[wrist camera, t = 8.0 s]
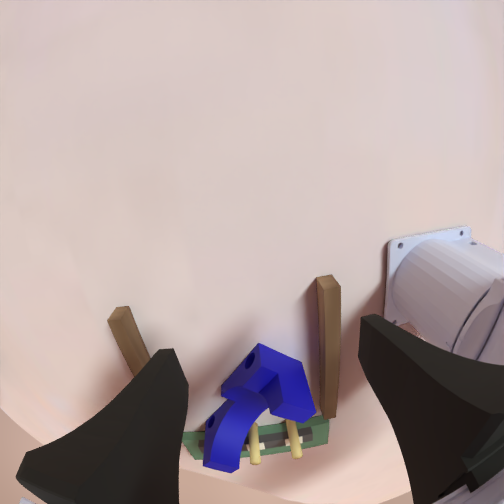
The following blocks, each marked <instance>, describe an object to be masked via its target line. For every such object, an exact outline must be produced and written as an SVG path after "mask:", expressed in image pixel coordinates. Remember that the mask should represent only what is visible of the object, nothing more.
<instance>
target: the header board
mask: <svg viewBox="0 0 504 504" xmlns="http://www.w3.org/2000/svg"><path fill="white" fill-rule="evenodd" d="M328 433H329V420H328V419H327V420H324V418H323V415H321V416H317V417H312V418H309V419H308V420H307V421H306V422H304V423H300V422H296V421H292V420H289V419H286V423H281V424H275V425H268V426H261V427H258V425H257V423H253V425H252V426H251V428H250V430H249V431H248V433H247V436H246V438H245V440H244V443H243V446H242V450H241V454H240V458H243V457H250V464H252V465H258V464H260V463H261V459H260V456H262V455H269V454H276V453H283V452H289V451H291V453H292V458H293V459H299V458H301V457H302V456H303V455H302V450H301V449H305V448H310V447H315V446H319V445H323V444H328ZM204 441H205V431H204V432H183V437H182V442H183V443H184V445H185V446H186V448H187V449H188V451H189V452H190V453H191V455H192V456H193V458H194V459H195V460H203V455H204Z"/></svg>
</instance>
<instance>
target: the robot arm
mask: <svg viewBox="0 0 504 504" xmlns="http://www.w3.org/2000/svg"><path fill="white" fill-rule="evenodd" d="M460 232H461V233H460ZM399 243H401V245H400V247H398V244H399ZM394 320H395V321H394ZM393 321H394V322H393ZM392 322H393V323H392ZM408 322H410V324H411V325H412V326H413V327H414V328H415V329H416V330H417V331H418V332H419V334H420V335H421V336H422V337H423V338H424V339H425V340H426V341H424V340H422V339H420V338H418V337H416V336H414V335H412V334H411V333H409V332H407V331H405V330H403V329H402V328H400V327H398V325H401V324H405V323H408ZM358 358H359V360H360V363H361V366H362V368H363V371H364V373H365V376H366V378H367V380H368V382H369V383H370V385H371V387H372V389H373V391H374V393H375V394H376V396H377V398H378V400H379V402H380V403H381V405H382V407H383V409H384V411H385V412H386V414H387V416H388V418H389V420H390V422H391V424H392V427H393V429H394V432H395V435H396V437H397V440H398V443H399V446H400V449H401V452H402V455H403V458H404V462H405V465H406V469H407V473H408V477H409V481H410V486H411V491H412V496H413V502H414V504H504V254H503V253H501V252H499V251H497V250H495V249H493V248H491V247H489V246H487V245H485V244H483V243H481V242H479V241H477V240H475V239H473V238H471V227H470V226H461V227H456V228H451V229H446V230H440V231H435V232H430V233H424V234H419V235H413V236H408V237H403V238H397V239H392V240H391V241H390V242H389V243H388V255H387V281H386V297H385V309H384V318H382V317H381V316H379V315H377V314H372V315H368V316H364V317H361V325H360V340H359V352H358ZM188 389H189V385H188V382H187V380H186V378H185V375H184V373H183V371H182V368H181V366H180V363H179V361H178V358H177V356H176V353H175V351H174V348H172V349H159V350H158V351H157V352H156V353H155V354H154V356H153V357H152V358H151V359H150V360H149V361H148V362H147V364H146V365H145V366H144V367H143V368H142V369H141V370H140V372H139V373H138V374H137V375H136V376H135V377H134V378H133V379H132V381H131V382H130V383H129V384H128V385H127V386H126V387H125V388H124V389H123V390H122V391H121V392H120V393H119V394H118V395H117V396H116V397H115V398H114V399H113V400H112V401H111V402H110V403H109V404H108V405H107V406H106V407H104V408H103V409H102V410H101V411H100V412H98V413H97V414H96V415H95V416H94V417H92V418H91V419H89V420H88V421H87V422H85V423H84V424H82V425H81V426H79V427H78V428H76V429H75V430H73V431H72V432H70V433H68V434H66V435H65V436H63V437H61V438H59V439H57V440H55V441H53V442H51V443H49V444H47V445H44V446H42V447H39V448H36V449H34V450H31V451H28V452H26V454H25V456H24V458H23V461H22V463H21V465H20V467H19V470H18V472H17V475H16V479H17V480H18V481H19V483H20V484H21V485H23V486H24V487H25V488H26V489H27V490H29V491H30V492H32V493H33V494H34V495H36V496H37V497H38V498H40V499H41V500H43V501H44V502H46V503H47V504H179V480H178V479H179V477H178V476H179V457H180V449H181V443H182V437H183V432H184V426H185V420H186V415H187V409H188ZM19 504H36V503H33V502H32V501H30V500H28V499H26V498H24V497H22V498H21V501H20V503H19Z"/></svg>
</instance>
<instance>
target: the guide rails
mask: <svg viewBox="0 0 504 504" xmlns="http://www.w3.org/2000/svg"><path fill="white" fill-rule="evenodd" d="M316 282H317V299H318V319H319V350H320V408H321V411H322V415H323V418H324V420H327V419H331V418H335V417H336V410H337V398H338V384H339V367H340V340H341V286H340V285H339V284H338V282H337V281H336V280H335V278H334V277H333V276H332V275H327V276H322V277H316ZM107 321H108V324H109V326H110V328H111V331H112V333H113V335H114V337H115V339H116V341H117V344H118V346H119V348H120V350H121V352H122V354H123V356H124V358H125V360H126V362H127V364H128V366H129V368H130V370H131V372H132V373H133V375H134V377H135V376H136V375H137V374H138V373H139V372H140V370H141V369H142V368H143V367H144V366H145V365H146V364H147V362H148V361H149V360H150V359H151V358H150V356H149V353H148V351H147V349H146V347H145V344H144V342H143V340H142V337H141V335H140V333H139V330H138V328H137V325H136V323H135V320H134V318H133V315H132V313H131V310H130V307H129V306H125V307H116V309H115V310H114V312H113V313H112V314H111V316H110V317H109V319H108V320H107Z"/></svg>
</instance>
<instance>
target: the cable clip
mask: <svg viewBox="0 0 504 504" xmlns="http://www.w3.org/2000/svg"><path fill="white" fill-rule="evenodd" d="M221 396H222V397H225V398H227V399H228V400H227V401H226V402H225V403H224V404H223V405H222V406H221V407H220V408H219V409H218V410H217V411H216V412H215V413H214V414H213V415H212V416H211V417H210V418H209V419H208V420H207V421H206V428H205V441H204V455H203V466H204V467H208V468H212V469H215V470H219V471H223V472H228V473H232V472H234V471H236V470H237V469H239V462H240V454H241V450H242V446H243V443H244V440H245V438H246V436H247V433H248V431H249V430H250V428H251V426H252V425H253V423H254V422H255V420H256V419H257V418H258V417H259V415H260V414H261V413H262V412H264V411H265V410H266V409H267V408H269V409H270V414H272V415H275V416H278V417H282V418H285V419H289V420H292V421H296V422H300V423H304V422H306V421H307V420H308V419H309V418H310V417H312V416H313V415H314V414H315V413H316V409H315V406H314V403H313V399H312V396H311V392H310V389H309V386H308V382H307V379H306V375H305V372H304V369H303V365H302V362H300V361H298V360H295V359H293V358H291V357H288V356H286V355H284V354H282V353H280V352H277V351H275V350H273V349H271V348H269V347H267V346H264V345H262V344H260V343H258V344H257V345H256V346H255V348H254V349H253V350H252V351H251V352H250V354H249V355H248V356H247V357H246V358H245V359H244V361H243V362H242V363H241V364H240V365H239V366H238V367H237V369H236V370H235V371H234V372H233V373H232V374H231V375H230V377H229V378H228V379H227V380H226V381H225V382H224V383H223V384H222V386H221Z"/></svg>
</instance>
